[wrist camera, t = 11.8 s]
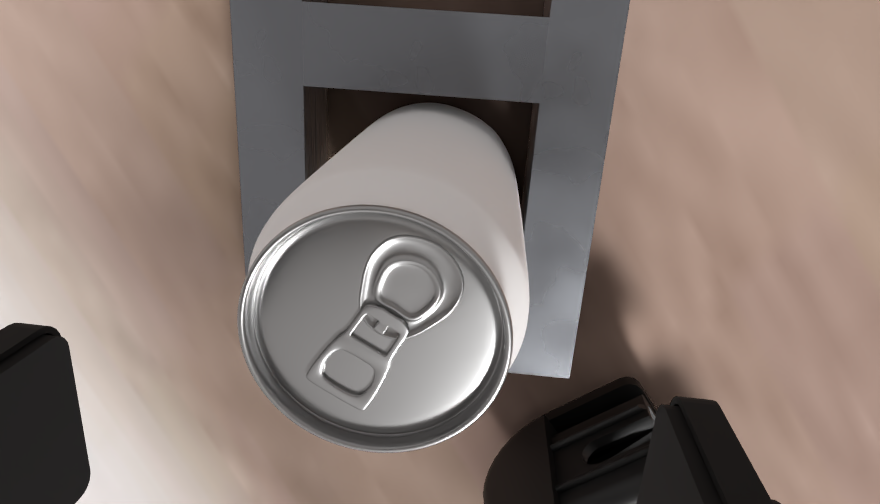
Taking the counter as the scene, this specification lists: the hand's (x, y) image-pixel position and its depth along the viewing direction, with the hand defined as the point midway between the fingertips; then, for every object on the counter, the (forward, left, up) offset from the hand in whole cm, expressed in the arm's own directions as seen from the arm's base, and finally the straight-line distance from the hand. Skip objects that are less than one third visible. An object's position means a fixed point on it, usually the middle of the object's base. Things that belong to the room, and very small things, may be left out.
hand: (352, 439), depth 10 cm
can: (0, 0, -15) cm, 15 cm away
